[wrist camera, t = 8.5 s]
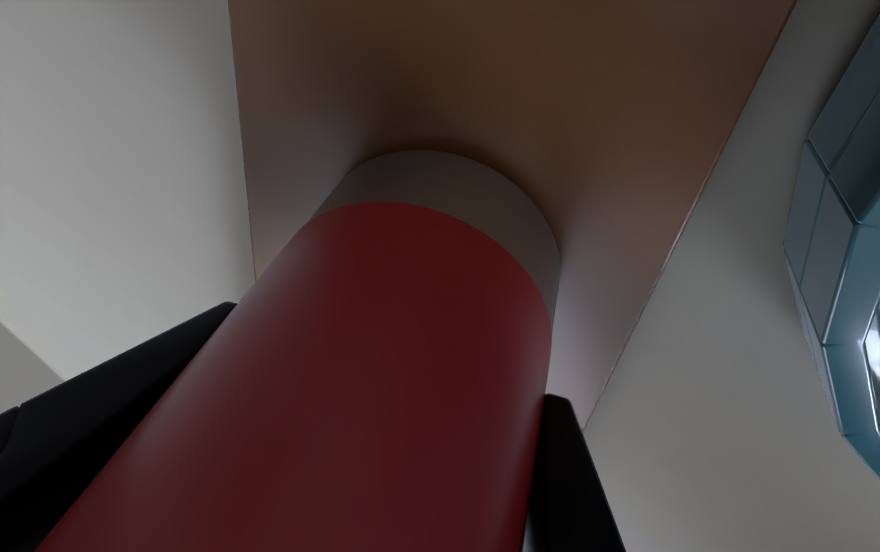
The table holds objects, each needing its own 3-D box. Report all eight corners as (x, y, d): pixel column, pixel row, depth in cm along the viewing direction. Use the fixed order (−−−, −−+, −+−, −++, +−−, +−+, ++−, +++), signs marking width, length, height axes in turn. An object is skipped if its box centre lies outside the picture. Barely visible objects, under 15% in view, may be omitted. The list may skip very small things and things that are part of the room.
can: (528, 376, 14) (402, 1083, 6) (321, 317, 14) (-40, 890, 6) (596, 185, 10) (509, 1245, 3) (321, 118, 11) (-422, 815, 3)
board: (547, 477, 18) (543, 512, 17) (285, 398, 19) (268, 426, 18) (879, -224, 7) (914, -231, 6) (239, -324, 8) (192, -343, 7)
